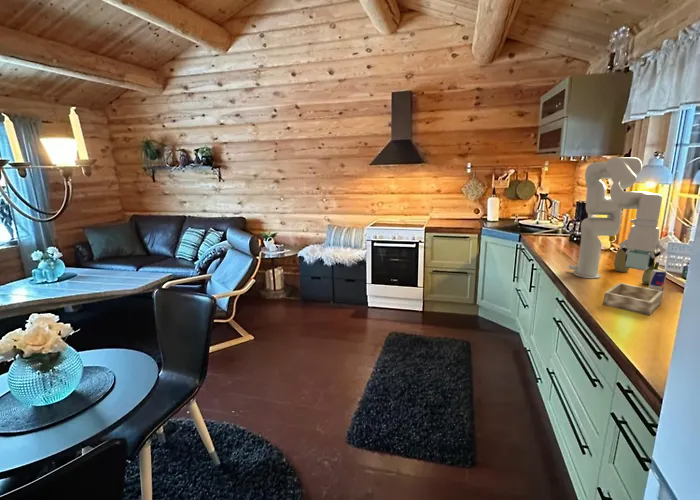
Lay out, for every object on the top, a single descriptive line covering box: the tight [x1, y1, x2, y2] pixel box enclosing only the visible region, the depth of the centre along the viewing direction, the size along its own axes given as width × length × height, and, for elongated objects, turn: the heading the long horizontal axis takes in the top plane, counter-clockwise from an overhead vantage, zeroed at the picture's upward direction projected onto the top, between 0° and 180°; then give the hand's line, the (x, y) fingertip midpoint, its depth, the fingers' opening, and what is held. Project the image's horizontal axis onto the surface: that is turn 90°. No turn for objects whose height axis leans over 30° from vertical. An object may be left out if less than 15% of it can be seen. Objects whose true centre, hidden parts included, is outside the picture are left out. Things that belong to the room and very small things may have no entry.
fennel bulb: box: [641, 261, 660, 286], centre depth 190 cm, size 6×5×12 cm
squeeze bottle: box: [613, 239, 630, 273], centre depth 213 cm, size 8×8×18 cm
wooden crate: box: [602, 282, 664, 317], centre depth 165 cm, size 16×20×6 cm
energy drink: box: [648, 268, 667, 292], centre depth 174 cm, size 5×5×12 cm
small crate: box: [625, 250, 651, 271], centre depth 161 cm, size 7×10×6 cm
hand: (638, 264), depth 162 cm, fingers closed on small crate, 7 cm apart
